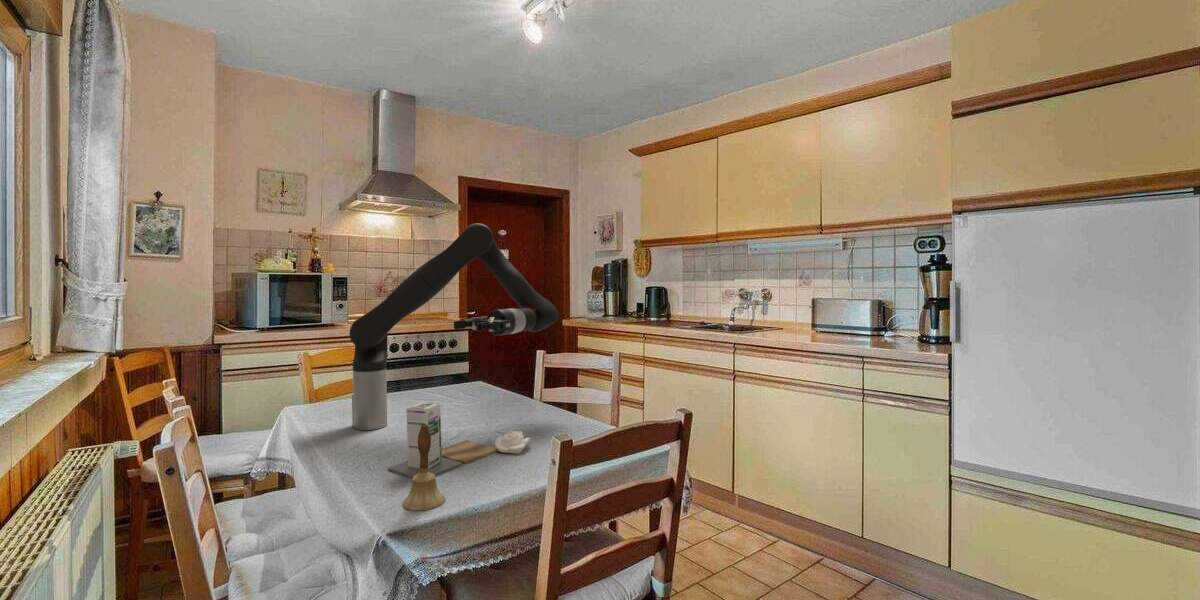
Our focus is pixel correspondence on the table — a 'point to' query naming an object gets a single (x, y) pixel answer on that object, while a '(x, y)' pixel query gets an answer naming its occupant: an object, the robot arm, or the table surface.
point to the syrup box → (415, 418)
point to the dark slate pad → (436, 469)
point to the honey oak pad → (467, 451)
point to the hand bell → (423, 479)
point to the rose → (511, 442)
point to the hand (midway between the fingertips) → (465, 326)
